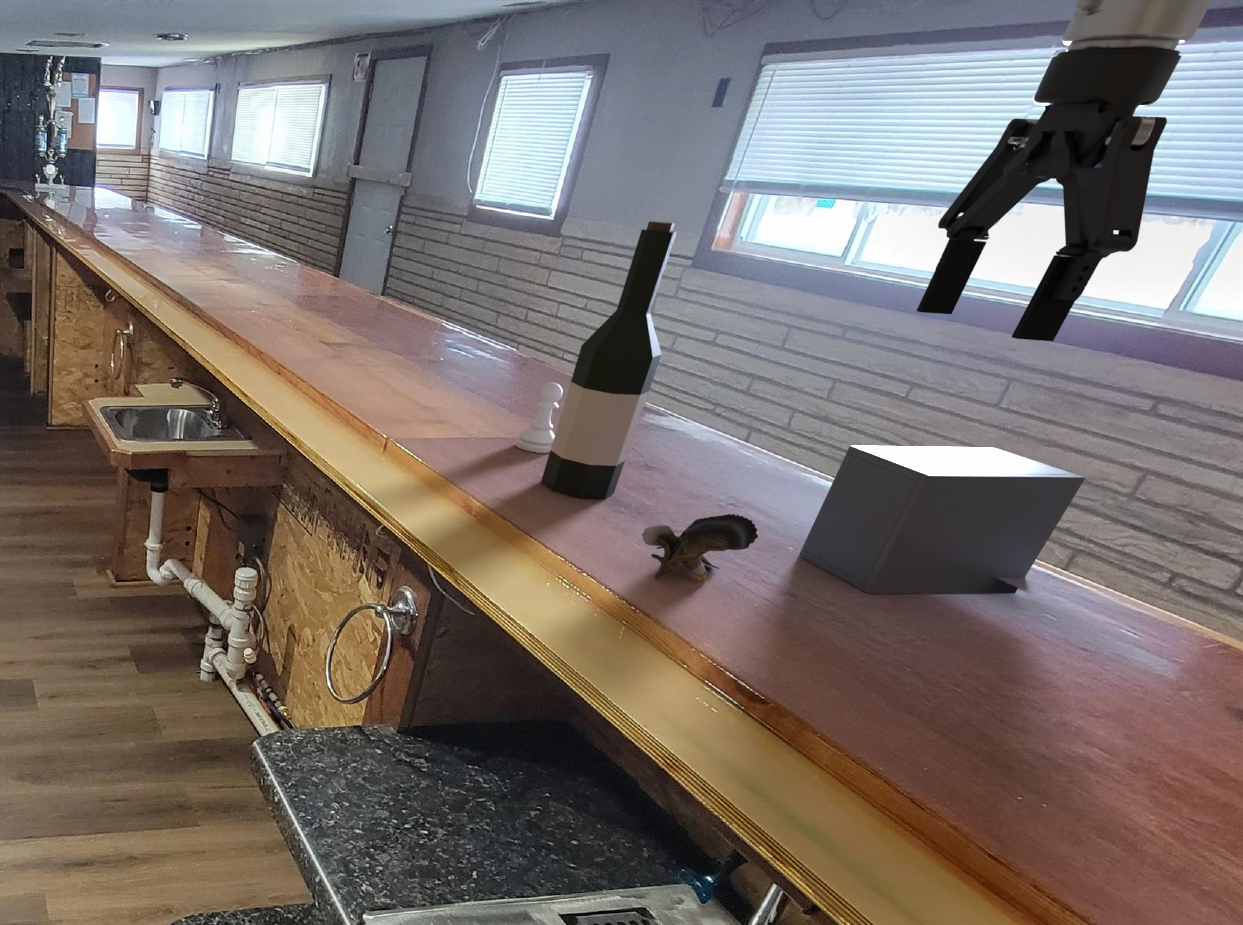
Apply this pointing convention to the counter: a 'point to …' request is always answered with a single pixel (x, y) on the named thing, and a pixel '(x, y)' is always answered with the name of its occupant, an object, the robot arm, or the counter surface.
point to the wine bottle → (611, 381)
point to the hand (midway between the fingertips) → (979, 325)
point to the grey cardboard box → (937, 518)
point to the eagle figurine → (699, 542)
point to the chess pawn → (541, 422)
